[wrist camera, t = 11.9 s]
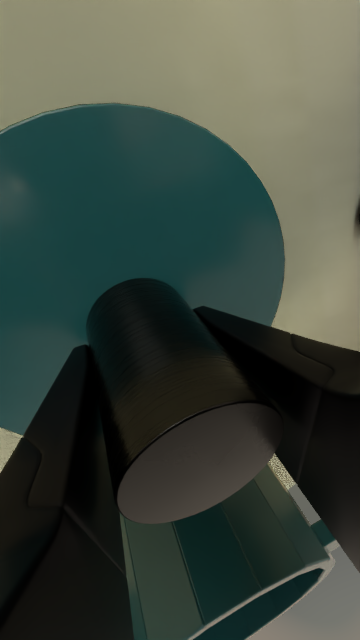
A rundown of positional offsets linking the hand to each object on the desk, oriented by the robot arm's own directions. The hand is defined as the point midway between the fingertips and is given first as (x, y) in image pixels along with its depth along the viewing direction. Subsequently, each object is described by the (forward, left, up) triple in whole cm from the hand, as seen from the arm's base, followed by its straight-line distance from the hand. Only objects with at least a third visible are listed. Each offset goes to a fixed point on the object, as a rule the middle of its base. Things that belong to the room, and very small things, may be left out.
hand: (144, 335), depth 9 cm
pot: (+14, 0, -2) cm, 14 cm away
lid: (0, 0, -1) cm, 1 cm away
